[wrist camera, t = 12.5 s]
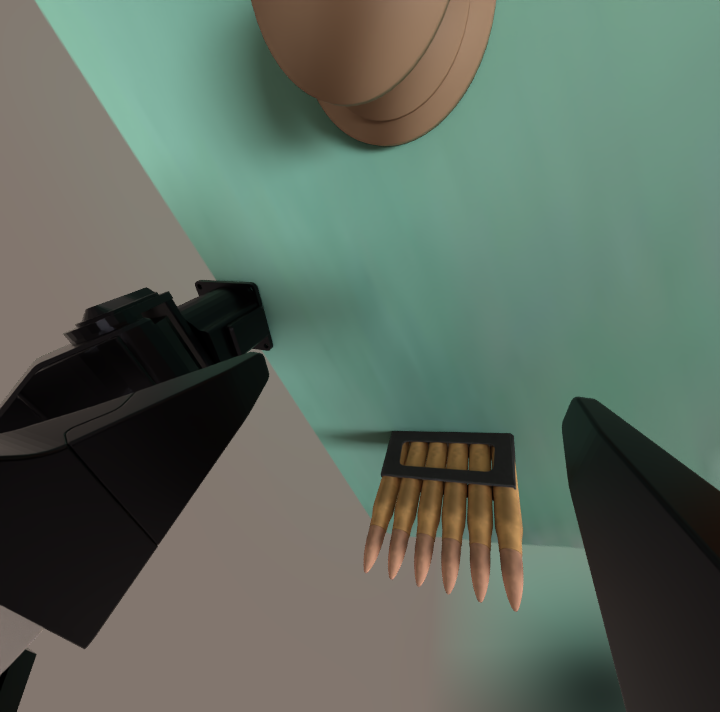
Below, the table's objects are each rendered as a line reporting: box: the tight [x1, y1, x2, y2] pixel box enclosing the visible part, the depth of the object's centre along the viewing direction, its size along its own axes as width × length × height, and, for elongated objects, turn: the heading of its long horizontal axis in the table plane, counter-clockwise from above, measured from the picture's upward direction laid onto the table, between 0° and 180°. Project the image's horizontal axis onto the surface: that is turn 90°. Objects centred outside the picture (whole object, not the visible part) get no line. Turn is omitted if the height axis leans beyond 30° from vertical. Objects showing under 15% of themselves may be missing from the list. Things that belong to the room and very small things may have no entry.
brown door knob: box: [251, 0, 496, 146], centre depth 11 cm, size 9×9×6 cm
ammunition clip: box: [364, 431, 523, 612], centre depth 22 cm, size 11×2×12 cm, turn 108°
